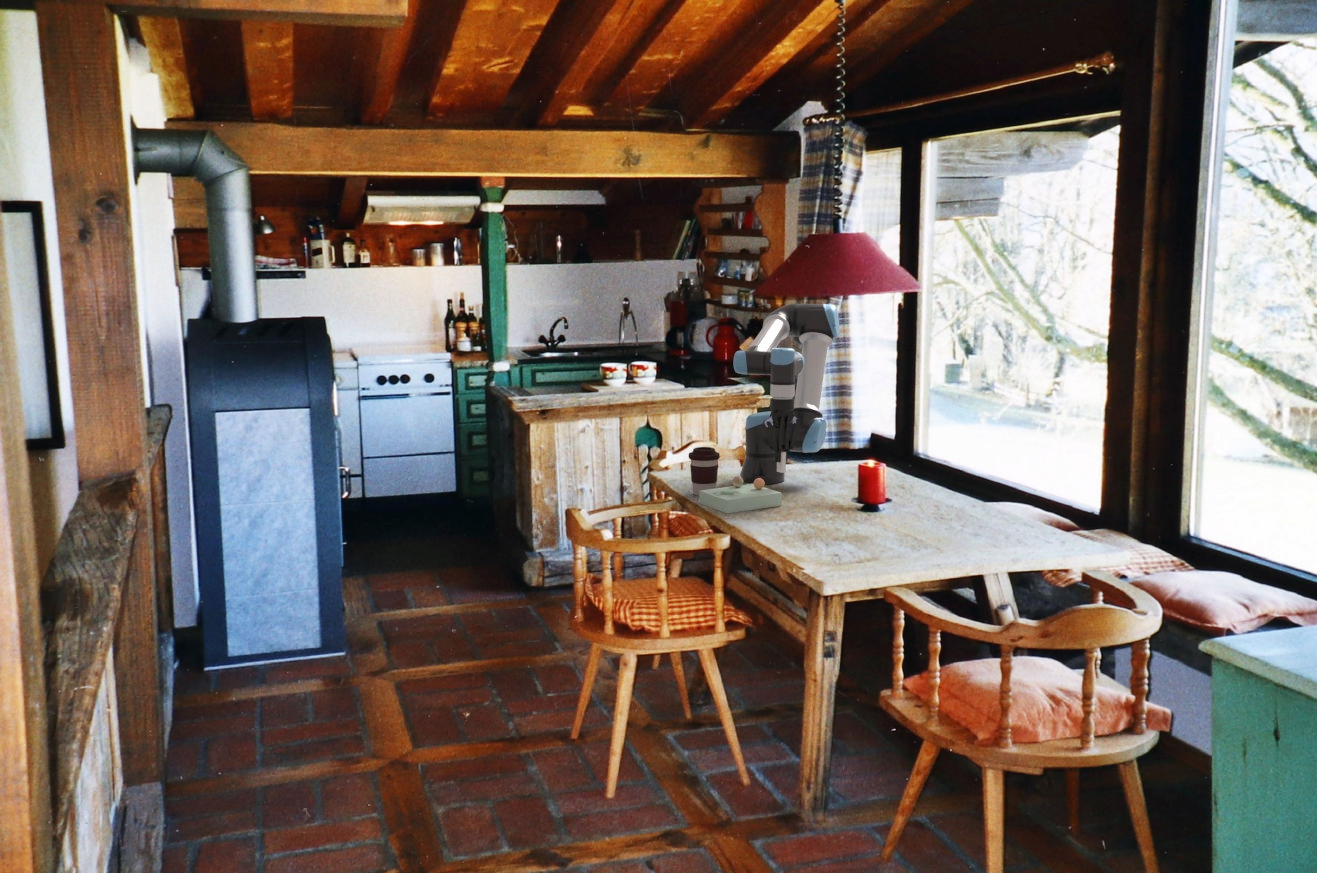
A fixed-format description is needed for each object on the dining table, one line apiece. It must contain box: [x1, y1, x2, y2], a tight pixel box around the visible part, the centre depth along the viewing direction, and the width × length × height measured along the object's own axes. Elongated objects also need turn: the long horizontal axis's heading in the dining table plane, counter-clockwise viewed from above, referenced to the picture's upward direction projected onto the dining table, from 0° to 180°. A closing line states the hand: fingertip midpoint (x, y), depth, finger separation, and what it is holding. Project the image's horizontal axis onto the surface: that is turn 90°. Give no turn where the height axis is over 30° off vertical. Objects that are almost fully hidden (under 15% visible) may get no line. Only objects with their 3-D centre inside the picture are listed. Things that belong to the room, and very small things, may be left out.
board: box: [698, 483, 783, 514], centre depth 354 cm, size 20×16×4 cm
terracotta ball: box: [753, 478, 766, 489], centre depth 357 cm, size 4×4×4 cm
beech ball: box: [731, 475, 744, 487], centre depth 360 cm, size 4×4×4 cm
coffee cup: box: [688, 446, 720, 497], centre depth 368 cm, size 10×10×15 cm
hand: (781, 472), depth 360 cm, fingers closed
